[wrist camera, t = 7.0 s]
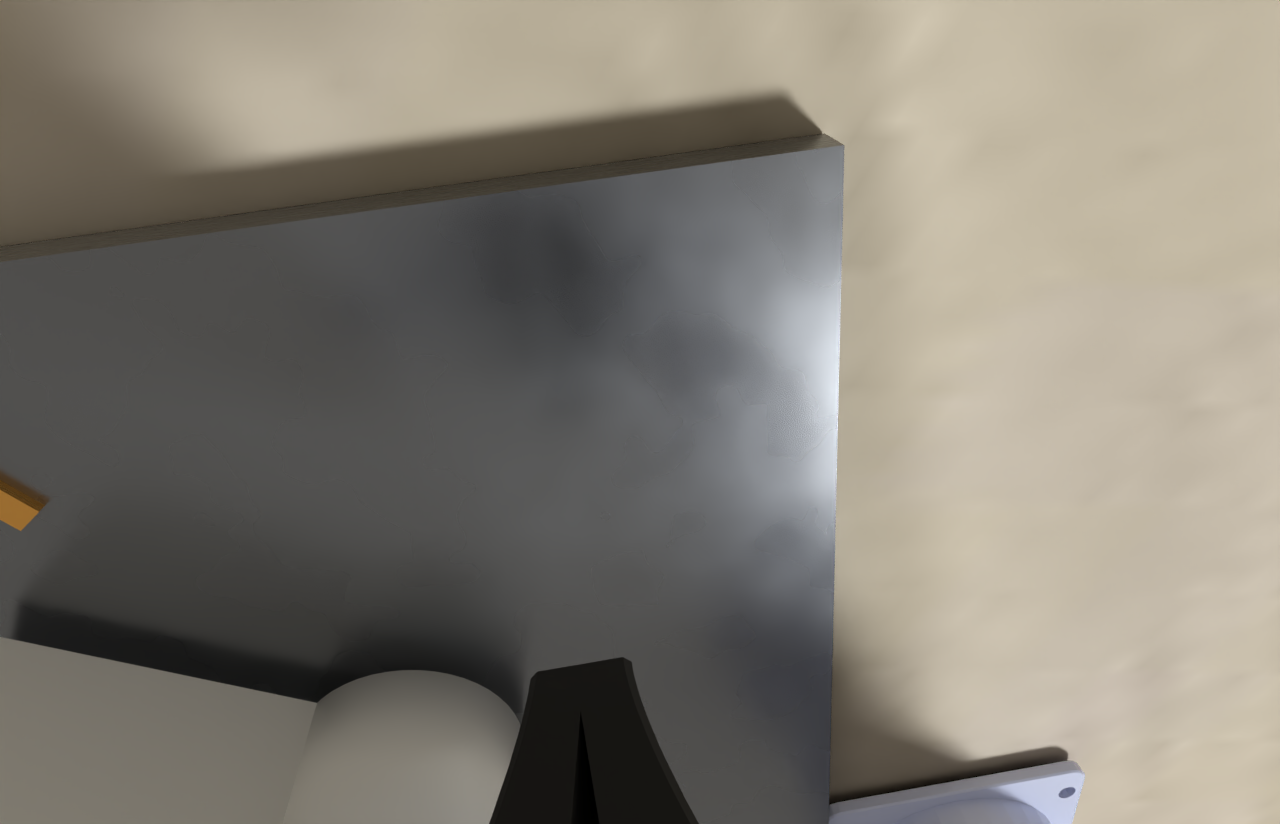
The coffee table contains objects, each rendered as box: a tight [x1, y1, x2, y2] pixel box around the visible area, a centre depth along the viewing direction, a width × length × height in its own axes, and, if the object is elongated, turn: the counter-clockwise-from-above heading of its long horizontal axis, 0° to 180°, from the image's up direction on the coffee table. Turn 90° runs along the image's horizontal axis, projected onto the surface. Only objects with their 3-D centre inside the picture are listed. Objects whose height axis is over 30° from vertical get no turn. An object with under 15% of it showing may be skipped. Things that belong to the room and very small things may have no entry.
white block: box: [0, 637, 520, 824], centre depth 15 cm, size 11×5×4 cm, turn 64°
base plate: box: [0, 134, 844, 824], centre depth 17 cm, size 20×20×4 cm
